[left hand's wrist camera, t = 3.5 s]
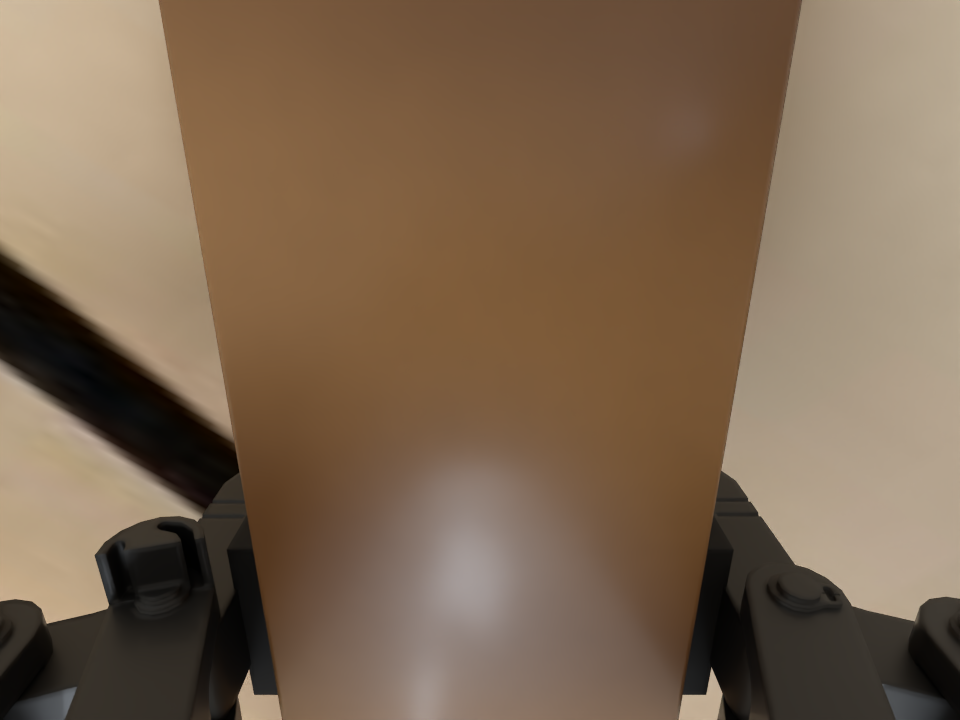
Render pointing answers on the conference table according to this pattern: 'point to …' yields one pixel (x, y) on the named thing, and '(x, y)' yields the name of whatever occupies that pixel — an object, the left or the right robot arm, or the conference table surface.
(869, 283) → the conference table surface
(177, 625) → the left robot arm
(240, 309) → the beam
